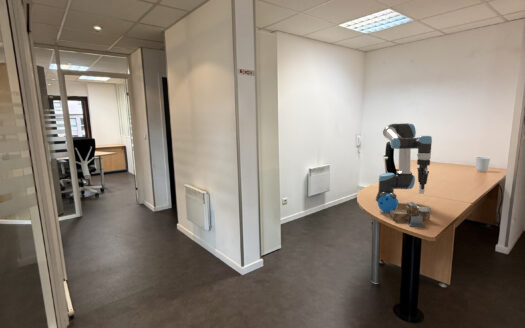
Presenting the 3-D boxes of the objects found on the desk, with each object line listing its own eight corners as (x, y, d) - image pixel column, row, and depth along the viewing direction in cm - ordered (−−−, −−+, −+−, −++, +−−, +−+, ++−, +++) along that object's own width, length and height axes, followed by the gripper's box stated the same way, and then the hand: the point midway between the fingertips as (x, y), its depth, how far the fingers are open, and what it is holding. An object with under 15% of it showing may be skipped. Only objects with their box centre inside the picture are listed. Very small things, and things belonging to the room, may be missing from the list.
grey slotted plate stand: (405, 222, 189) (406, 213, 188) (420, 222, 187) (420, 213, 186) (410, 226, 181) (410, 217, 180) (425, 227, 179) (425, 218, 178)
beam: (393, 220, 192) (394, 205, 190) (389, 216, 199) (390, 201, 198) (431, 221, 188) (432, 206, 186) (426, 217, 196) (427, 202, 194)
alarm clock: (398, 212, 207) (399, 193, 205) (395, 214, 203) (396, 194, 200) (379, 209, 216) (380, 190, 213) (377, 211, 211) (378, 192, 209)
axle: (414, 213, 191) (414, 207, 190) (412, 211, 194) (412, 205, 194) (430, 213, 189) (430, 208, 188) (427, 211, 193) (428, 206, 192)
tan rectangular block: (406, 212, 191) (406, 207, 191) (404, 211, 195) (405, 205, 194) (414, 213, 191) (414, 207, 190) (412, 211, 194) (412, 205, 193)
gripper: (414, 157, 192) (412, 190, 196) (421, 160, 180) (419, 195, 184) (425, 157, 191) (423, 191, 195) (434, 160, 179) (431, 196, 182)
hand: (421, 193), depth 189 cm, fingers closed
